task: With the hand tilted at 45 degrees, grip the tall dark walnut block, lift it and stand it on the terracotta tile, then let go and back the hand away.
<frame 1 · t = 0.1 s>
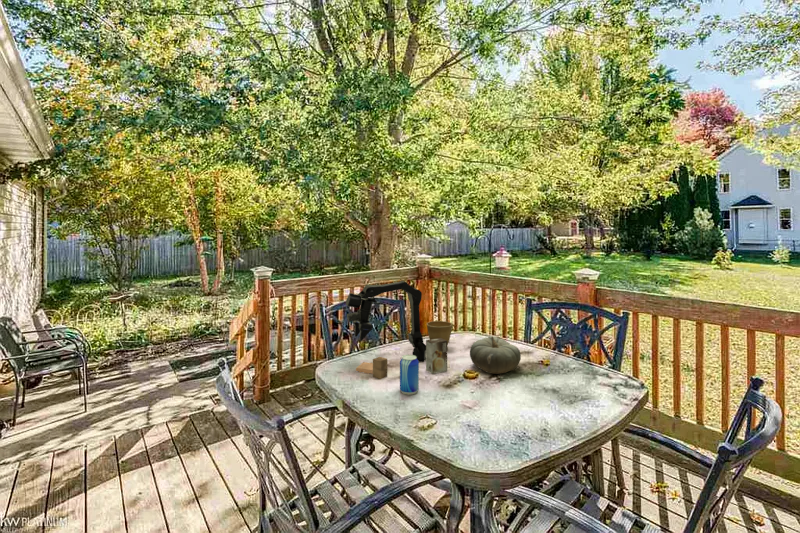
hand: (358, 338, 214), 15 cm above the table, fingers open, 9 cm apart
terracotta tile: (367, 370, 213), on the table
gourd: (495, 369, 215), on the table
beer can: (409, 392, 186), on the table
plant pot: (439, 350, 245), on the table
walnut block: (380, 376, 204), on the table
coffee box: (436, 371, 212), on the table
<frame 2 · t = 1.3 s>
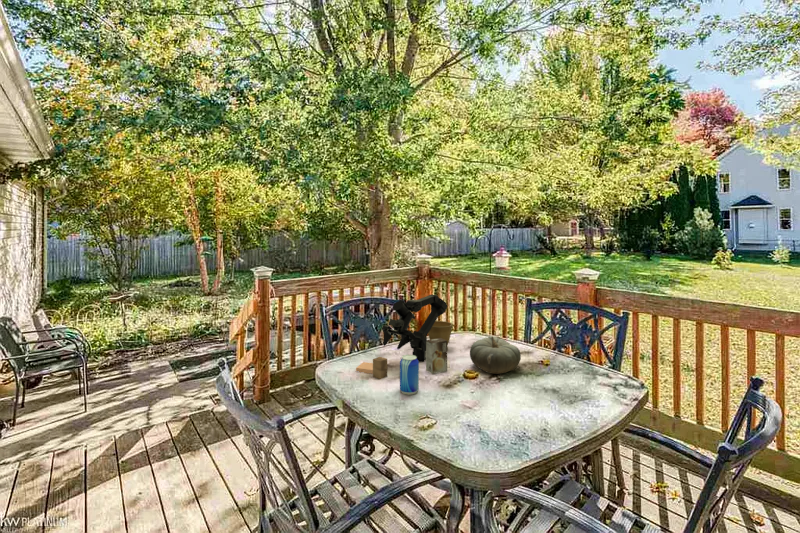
hand: (390, 347, 209), 13 cm above the table, fingers open, 9 cm apart
nothing on the table moved.
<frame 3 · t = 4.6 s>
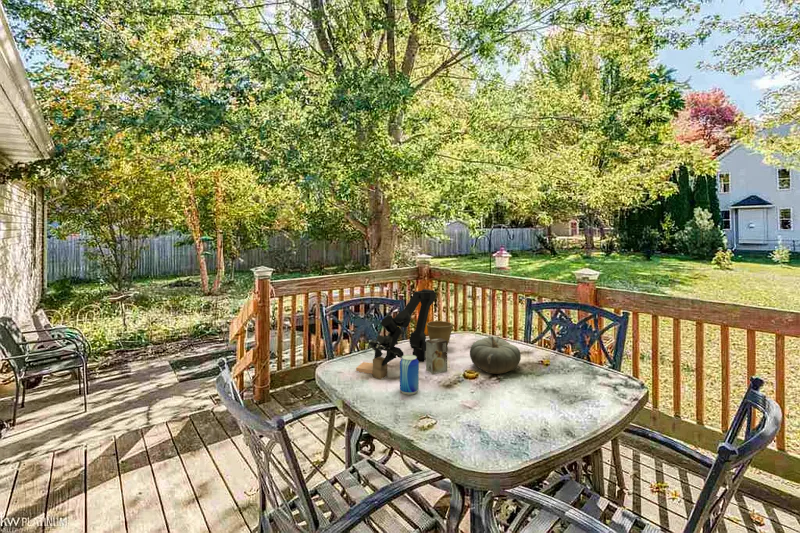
hand: (378, 364, 202), 7 cm above the table, fingers closed on walnut block, 5 cm apart
walnut block: (380, 376, 204), on the table, touching gripper
everything else where it was.
when the fingers open (10 cm above the table, at t = 8.4 s): walnut block drops 1 cm, point 2 cm above the table.
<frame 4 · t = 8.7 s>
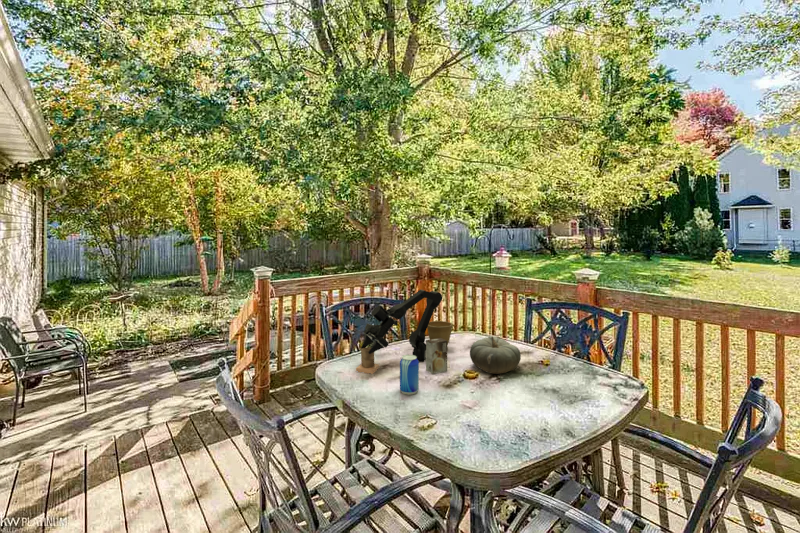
hand: (365, 351, 211), 10 cm above the table, fingers open, 8 cm apart
walnut block: (367, 366, 213), point 2 cm above the table
everything else where it was.
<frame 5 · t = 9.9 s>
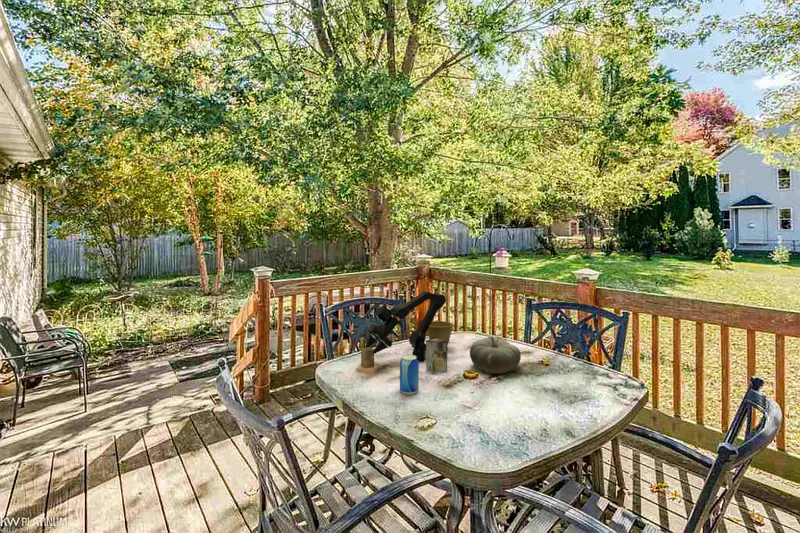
hand: (369, 350, 212), 10 cm above the table, fingers open, 9 cm apart
terracotta tile: (367, 370, 213), on the table, touching walnut block
walnut block: (367, 365, 213), point 2 cm above the table, touching terracotta tile
everything else where it was.
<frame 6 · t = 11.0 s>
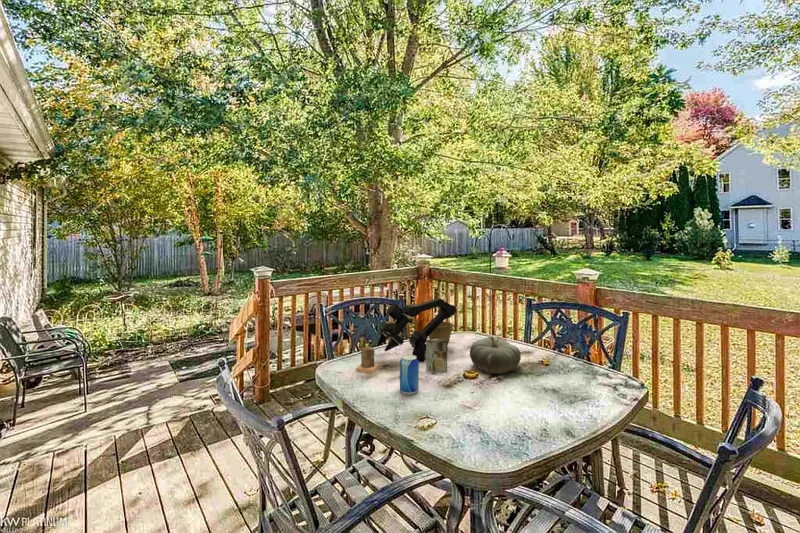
hand: (380, 348, 216), 10 cm above the table, fingers open, 9 cm apart
nothing on the table moved.
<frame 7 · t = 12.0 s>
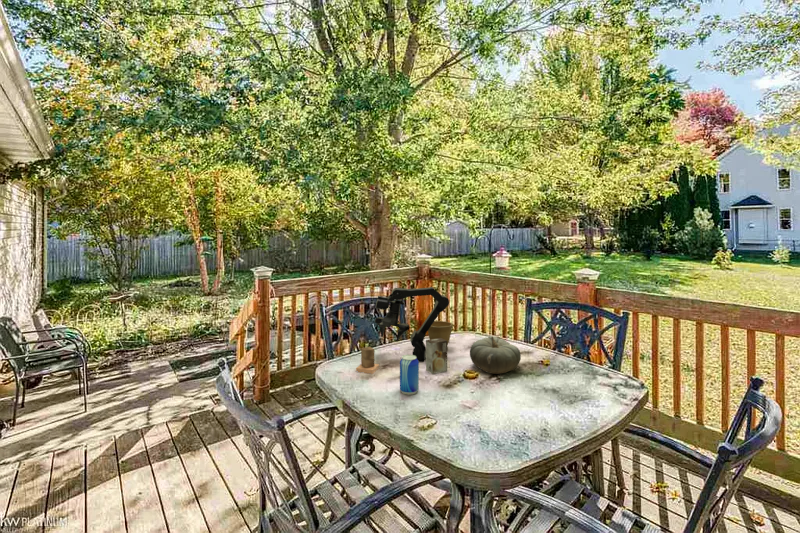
hand: (389, 339, 226), 12 cm above the table, fingers open, 9 cm apart
terracotta tile: (367, 370, 213), on the table
walnut block: (367, 365, 213), point 2 cm above the table
everything else where it was.
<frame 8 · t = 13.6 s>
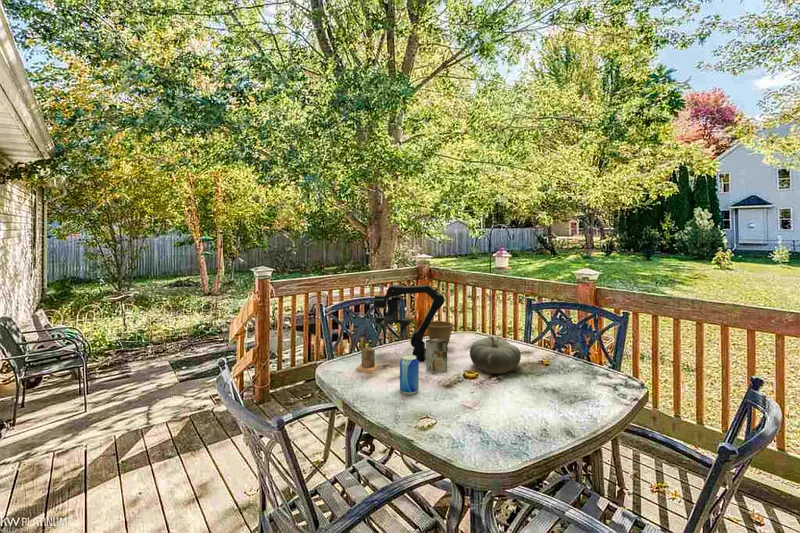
hand: (393, 336, 228), 13 cm above the table, fingers open, 9 cm apart
terracotta tile: (367, 370, 213), on the table, touching walnut block
walnut block: (368, 366, 213), point 2 cm above the table, touching terracotta tile
everything else where it was.
at the end: walnut block 0.2 cm off-centre on the terracotta tile, point 2.6 cm above the terracotta tile's base; walnut block tilted 1°; the gripper is holding nothing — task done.
